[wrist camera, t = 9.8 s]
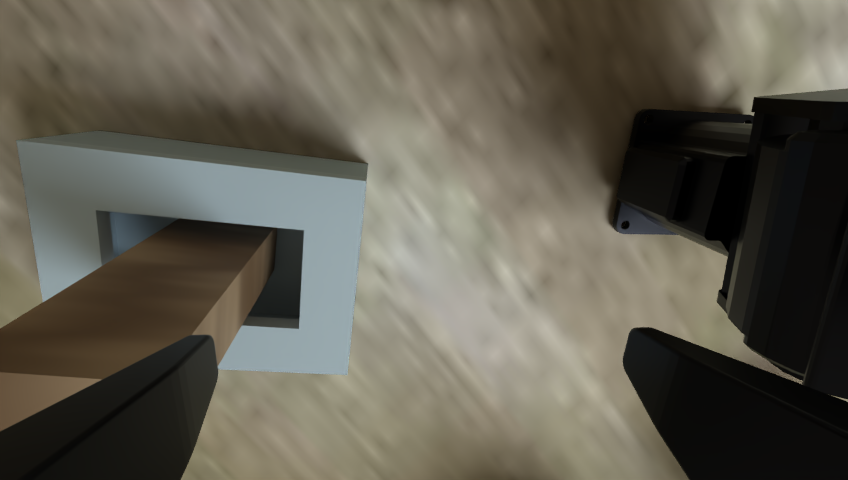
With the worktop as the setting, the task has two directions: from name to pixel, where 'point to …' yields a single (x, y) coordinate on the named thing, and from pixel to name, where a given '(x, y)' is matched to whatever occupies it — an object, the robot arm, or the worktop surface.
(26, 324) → the wooden block
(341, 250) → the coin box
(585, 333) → the worktop surface
